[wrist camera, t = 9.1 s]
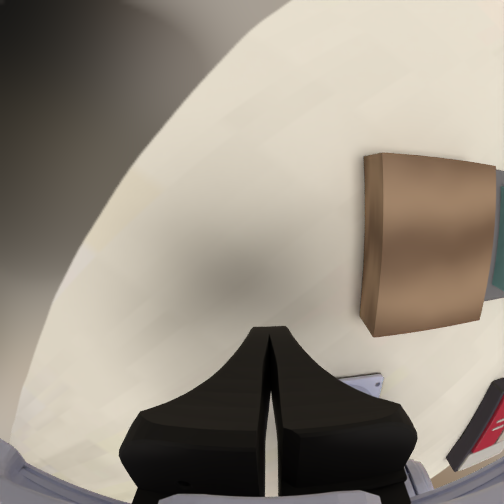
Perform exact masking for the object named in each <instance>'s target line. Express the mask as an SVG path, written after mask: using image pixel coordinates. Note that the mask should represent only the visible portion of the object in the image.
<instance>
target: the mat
mask: <svg viewBox="0 0 504 504" xmlns="http://www.w3.org/2000/svg"><path fill="white" fill-rule="evenodd" d="M501 186H503V187H504V171H501V170H496V211H495V227H494V239H493V248H492V256H491V264H490V270H489V276H488V282H487V288H486V293H485V298H484V301H488V300H493V299H499V298H504V291H502V290H501V289H499V288H497V287H496V286H494V285H492V281H493V275H494V269H495V262H496V255H497V246H498V237H499V224H500V205H501Z"/></svg>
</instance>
